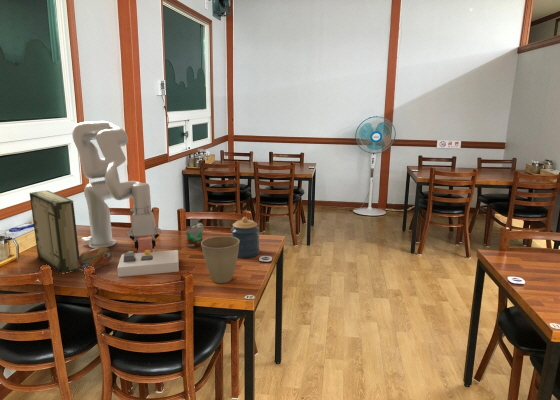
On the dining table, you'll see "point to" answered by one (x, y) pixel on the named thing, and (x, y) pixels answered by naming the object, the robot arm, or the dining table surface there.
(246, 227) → the canister
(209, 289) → the dining table surface
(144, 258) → the tagged breaker button
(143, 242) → the cap
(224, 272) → the plant pot
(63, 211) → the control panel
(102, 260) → the tin
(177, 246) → the dining table surface
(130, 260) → the block
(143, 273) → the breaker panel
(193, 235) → the food container
